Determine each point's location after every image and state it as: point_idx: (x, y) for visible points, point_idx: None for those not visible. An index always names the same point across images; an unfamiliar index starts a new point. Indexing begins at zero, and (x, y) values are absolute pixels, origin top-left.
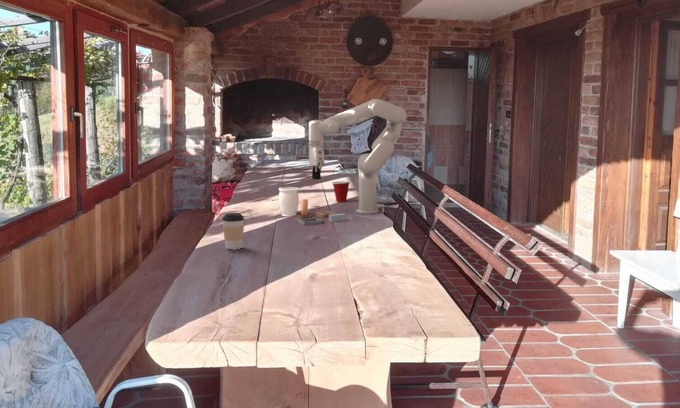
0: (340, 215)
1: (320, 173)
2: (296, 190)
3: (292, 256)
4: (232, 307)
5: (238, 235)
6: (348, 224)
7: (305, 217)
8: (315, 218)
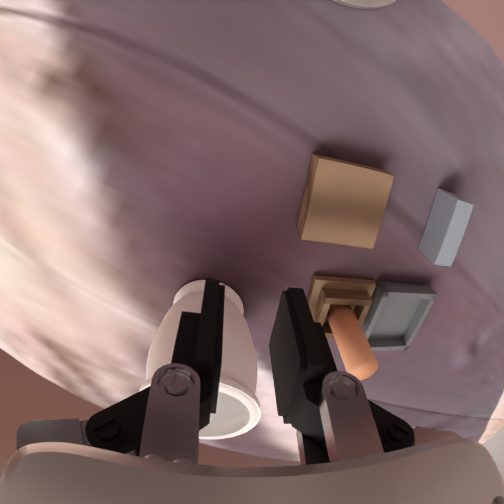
0: (464, 227)
1: (319, 341)
2: (255, 396)
3: (480, 397)
4: (486, 432)
5: None
6: (475, 210)
7: (360, 324)
8: (390, 296)
